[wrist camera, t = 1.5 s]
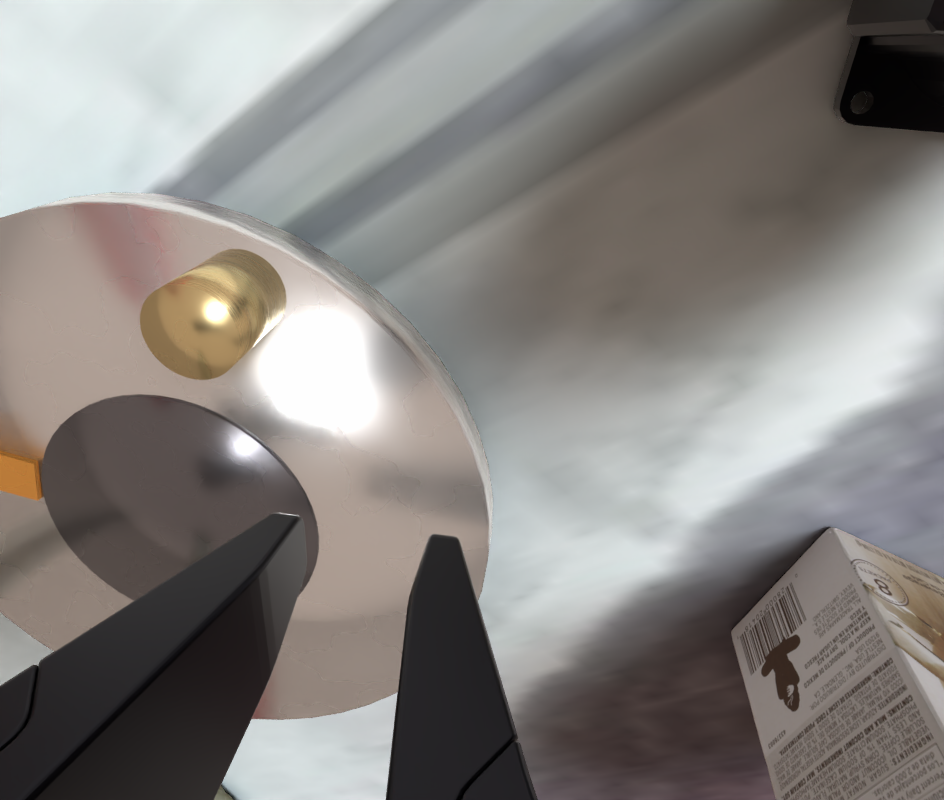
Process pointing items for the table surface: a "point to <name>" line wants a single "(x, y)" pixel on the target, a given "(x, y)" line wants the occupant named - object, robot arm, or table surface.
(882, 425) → the table surface
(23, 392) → the turntable
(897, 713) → the coffee box
